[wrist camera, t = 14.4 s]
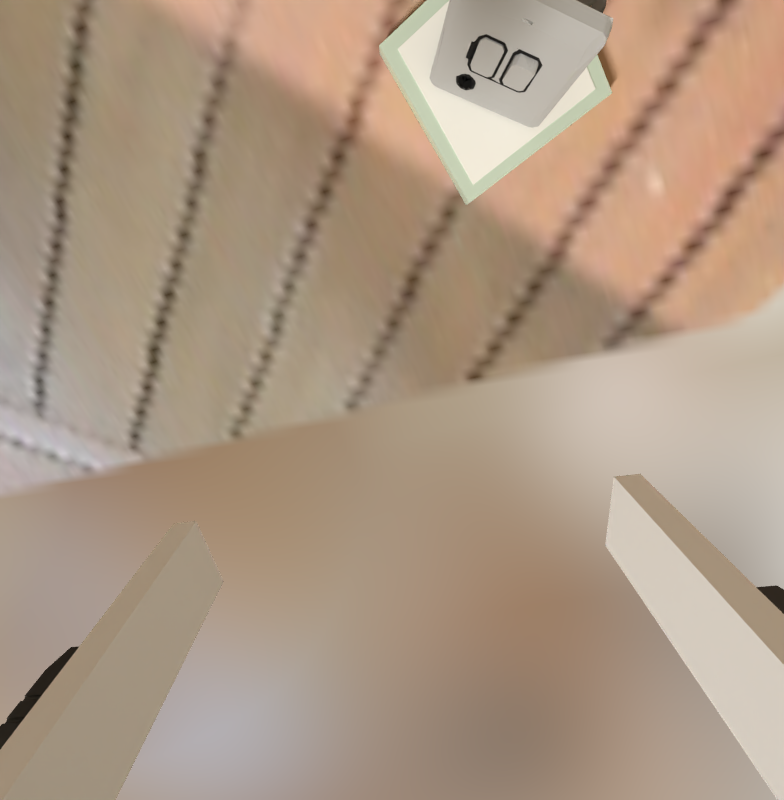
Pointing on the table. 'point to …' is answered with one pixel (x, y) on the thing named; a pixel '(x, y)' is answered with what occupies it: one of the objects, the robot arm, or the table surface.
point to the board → (474, 108)
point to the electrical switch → (518, 52)
